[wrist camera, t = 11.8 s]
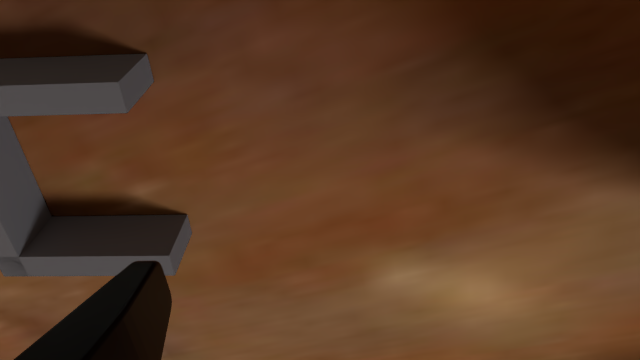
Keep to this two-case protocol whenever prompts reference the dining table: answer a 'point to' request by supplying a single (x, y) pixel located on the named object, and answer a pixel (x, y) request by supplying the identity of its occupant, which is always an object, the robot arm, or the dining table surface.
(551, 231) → the dining table surface
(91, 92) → the c collar
